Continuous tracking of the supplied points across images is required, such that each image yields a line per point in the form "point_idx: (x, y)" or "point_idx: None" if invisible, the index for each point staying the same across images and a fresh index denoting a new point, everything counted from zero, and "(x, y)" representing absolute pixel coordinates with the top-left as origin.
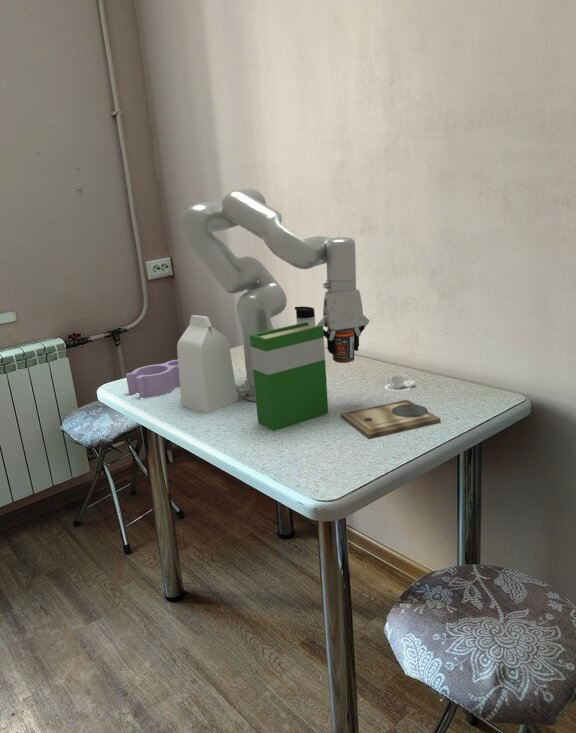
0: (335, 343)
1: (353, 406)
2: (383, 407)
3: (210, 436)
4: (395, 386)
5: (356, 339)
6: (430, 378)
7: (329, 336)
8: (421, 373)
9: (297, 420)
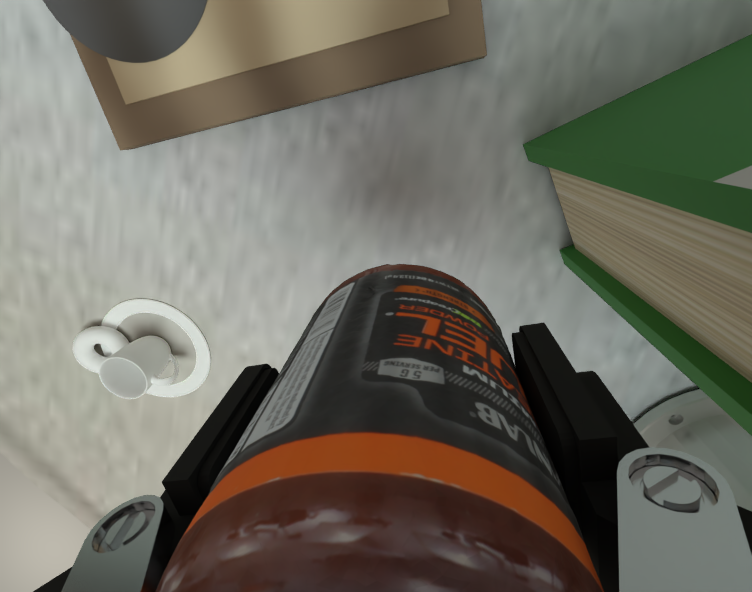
0: (546, 409)
1: (382, 192)
2: (247, 61)
3: None
4: (161, 343)
5: (204, 450)
6: (24, 394)
7: (735, 528)
8: (57, 451)
9: (740, 42)
